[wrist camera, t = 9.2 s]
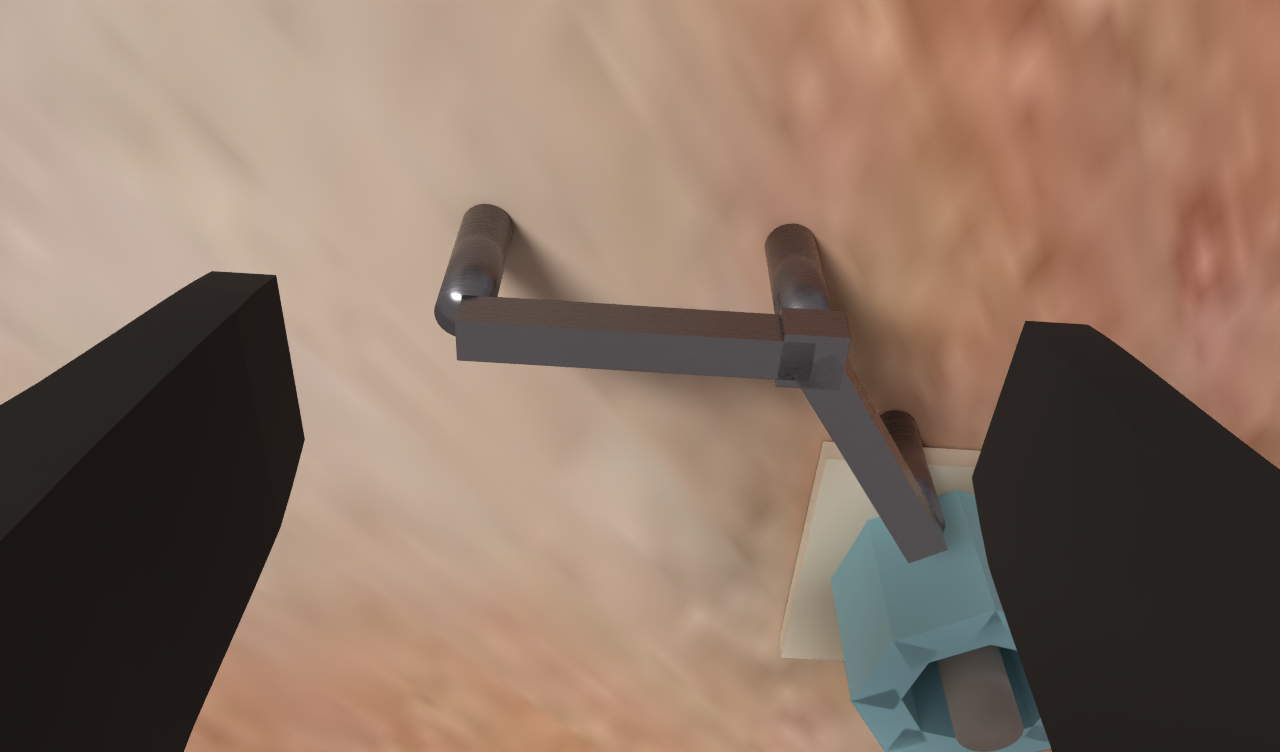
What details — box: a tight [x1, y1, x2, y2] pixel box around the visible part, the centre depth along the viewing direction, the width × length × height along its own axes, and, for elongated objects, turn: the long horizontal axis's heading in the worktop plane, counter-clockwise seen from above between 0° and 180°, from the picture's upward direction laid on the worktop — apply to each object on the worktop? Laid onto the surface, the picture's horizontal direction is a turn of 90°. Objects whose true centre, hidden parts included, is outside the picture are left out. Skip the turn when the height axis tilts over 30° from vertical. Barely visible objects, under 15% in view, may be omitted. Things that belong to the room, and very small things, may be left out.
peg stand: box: [779, 441, 1024, 752], centre depth 24 cm, size 7×7×5 cm
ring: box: [831, 490, 1051, 752], centre depth 24 cm, size 5×5×4 cm
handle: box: [434, 204, 948, 563], centre depth 20 cm, size 10×6×4 cm, turn 86°
